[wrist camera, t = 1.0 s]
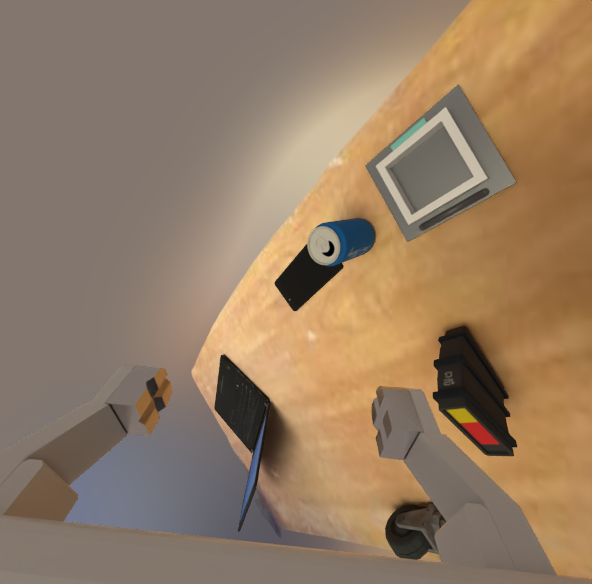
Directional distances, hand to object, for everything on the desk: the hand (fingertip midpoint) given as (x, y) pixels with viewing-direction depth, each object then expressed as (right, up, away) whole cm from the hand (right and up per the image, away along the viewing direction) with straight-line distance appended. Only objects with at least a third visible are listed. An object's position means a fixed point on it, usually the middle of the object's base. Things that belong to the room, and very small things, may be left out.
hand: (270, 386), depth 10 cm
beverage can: (+12, +14, +36) cm, 40 cm away
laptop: (-14, -40, +79) cm, 90 cm away
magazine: (+29, -8, +29) cm, 42 cm away
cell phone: (+4, +7, +46) cm, 47 cm away
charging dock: (+20, +21, +26) cm, 39 cm away
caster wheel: (+29, -43, +43) cm, 67 cm away
